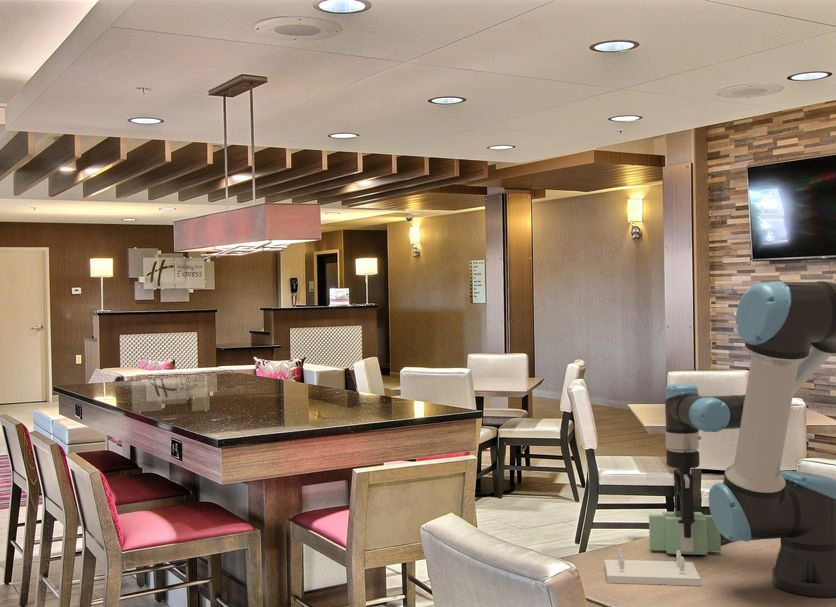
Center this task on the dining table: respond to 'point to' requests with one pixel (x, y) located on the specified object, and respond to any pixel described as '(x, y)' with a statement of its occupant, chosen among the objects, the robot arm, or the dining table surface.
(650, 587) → the dining table surface
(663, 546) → the green stepped block
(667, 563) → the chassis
